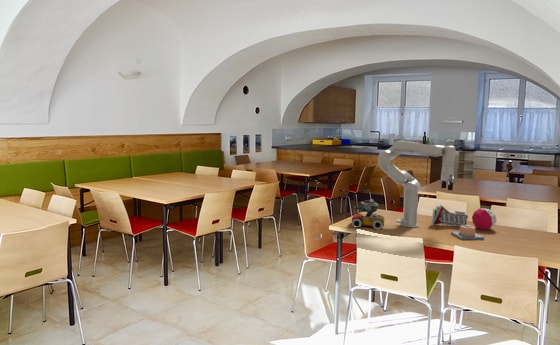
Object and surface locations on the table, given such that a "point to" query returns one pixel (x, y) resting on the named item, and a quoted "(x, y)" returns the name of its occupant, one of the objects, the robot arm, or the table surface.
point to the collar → (467, 231)
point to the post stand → (460, 236)
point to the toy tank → (368, 215)
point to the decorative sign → (448, 217)
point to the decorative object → (484, 219)
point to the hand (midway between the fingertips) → (446, 189)
